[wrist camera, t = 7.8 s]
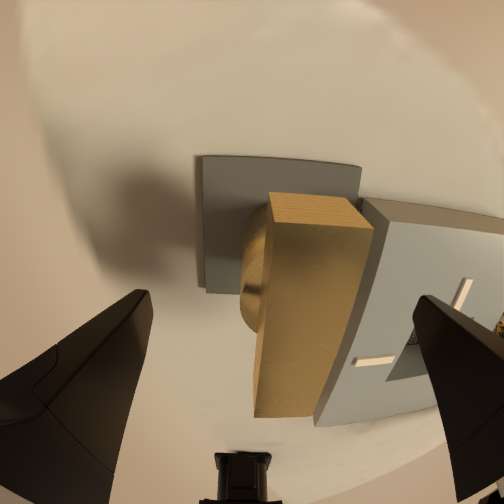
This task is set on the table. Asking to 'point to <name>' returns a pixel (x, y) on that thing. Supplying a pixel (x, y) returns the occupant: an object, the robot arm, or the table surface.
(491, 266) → the grey socket block
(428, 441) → the table surface
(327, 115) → the table surface
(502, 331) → the medicine bottle
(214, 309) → the table surface
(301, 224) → the t key
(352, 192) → the pad
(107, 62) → the table surface
